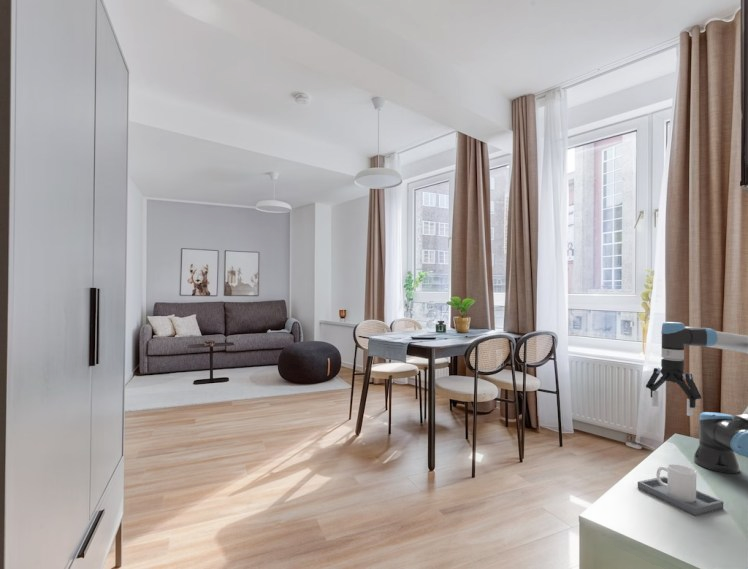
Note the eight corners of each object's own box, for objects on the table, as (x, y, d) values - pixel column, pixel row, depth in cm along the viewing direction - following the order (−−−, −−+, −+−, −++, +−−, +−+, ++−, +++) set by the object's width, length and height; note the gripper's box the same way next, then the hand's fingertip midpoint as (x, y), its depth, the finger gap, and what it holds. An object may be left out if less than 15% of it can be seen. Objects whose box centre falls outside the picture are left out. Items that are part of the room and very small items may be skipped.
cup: (691, 505, 139) (692, 476, 139) (652, 491, 149) (652, 463, 149) (699, 498, 144) (699, 470, 144) (660, 485, 154) (660, 458, 154)
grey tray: (664, 482, 157) (664, 476, 158) (723, 509, 139) (723, 501, 139) (637, 488, 152) (637, 481, 152) (695, 516, 133) (695, 508, 133)
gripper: (636, 354, 176) (636, 403, 175) (700, 365, 153) (699, 420, 152) (648, 354, 178) (647, 401, 178) (712, 364, 155) (712, 418, 155)
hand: (671, 410), depth 165 cm, fingers open, 13 cm apart
